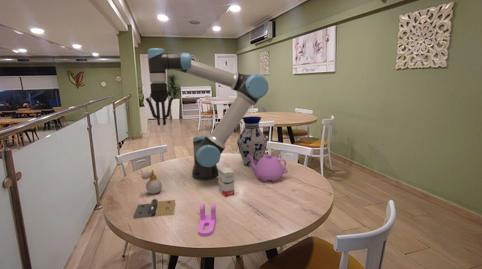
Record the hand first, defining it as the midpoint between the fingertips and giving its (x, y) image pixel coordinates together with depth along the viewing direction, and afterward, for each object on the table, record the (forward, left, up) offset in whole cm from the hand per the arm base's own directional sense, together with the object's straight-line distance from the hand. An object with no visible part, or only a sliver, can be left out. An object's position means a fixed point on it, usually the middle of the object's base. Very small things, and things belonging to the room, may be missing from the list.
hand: (162, 131), depth 135 cm
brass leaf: (-2, +24, -30) cm, 39 cm away
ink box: (-29, +12, -30) cm, 43 cm away
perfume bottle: (+6, +5, -30) cm, 31 cm away
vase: (-51, -30, -30) cm, 66 cm away
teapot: (-53, -2, -30) cm, 61 cm away
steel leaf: (+7, +24, -29) cm, 39 cm away
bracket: (-18, +42, -30) cm, 54 cm away
